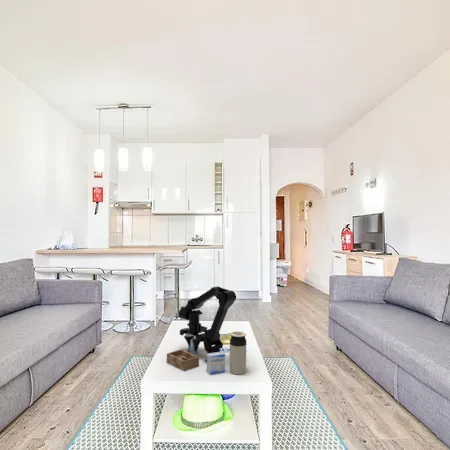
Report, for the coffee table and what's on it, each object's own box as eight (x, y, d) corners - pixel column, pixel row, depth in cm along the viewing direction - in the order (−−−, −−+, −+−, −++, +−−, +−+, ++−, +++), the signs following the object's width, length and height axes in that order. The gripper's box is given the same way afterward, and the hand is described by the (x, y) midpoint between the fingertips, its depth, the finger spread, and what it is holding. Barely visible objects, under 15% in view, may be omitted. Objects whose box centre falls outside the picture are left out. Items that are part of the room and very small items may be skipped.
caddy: (198, 366, 156) (199, 356, 156) (184, 371, 150) (184, 361, 150) (180, 357, 166) (181, 349, 167) (166, 362, 160) (166, 353, 160)
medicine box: (209, 375, 146) (210, 356, 147) (206, 371, 150) (206, 353, 151) (225, 372, 149) (225, 354, 150) (221, 368, 153) (221, 350, 154)
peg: (198, 354, 172) (198, 339, 173) (193, 355, 170) (193, 340, 170) (193, 352, 175) (194, 337, 175) (188, 354, 172) (189, 339, 173)
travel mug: (231, 375, 146) (232, 336, 147) (227, 368, 154) (228, 331, 154) (248, 374, 148) (248, 335, 148) (243, 367, 155) (243, 330, 156)
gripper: (216, 322, 172) (215, 351, 172) (194, 316, 185) (193, 342, 185) (201, 326, 164) (200, 356, 164) (179, 319, 177) (178, 347, 177)
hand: (193, 350), depth 172 cm, fingers closed on peg, 4 cm apart
